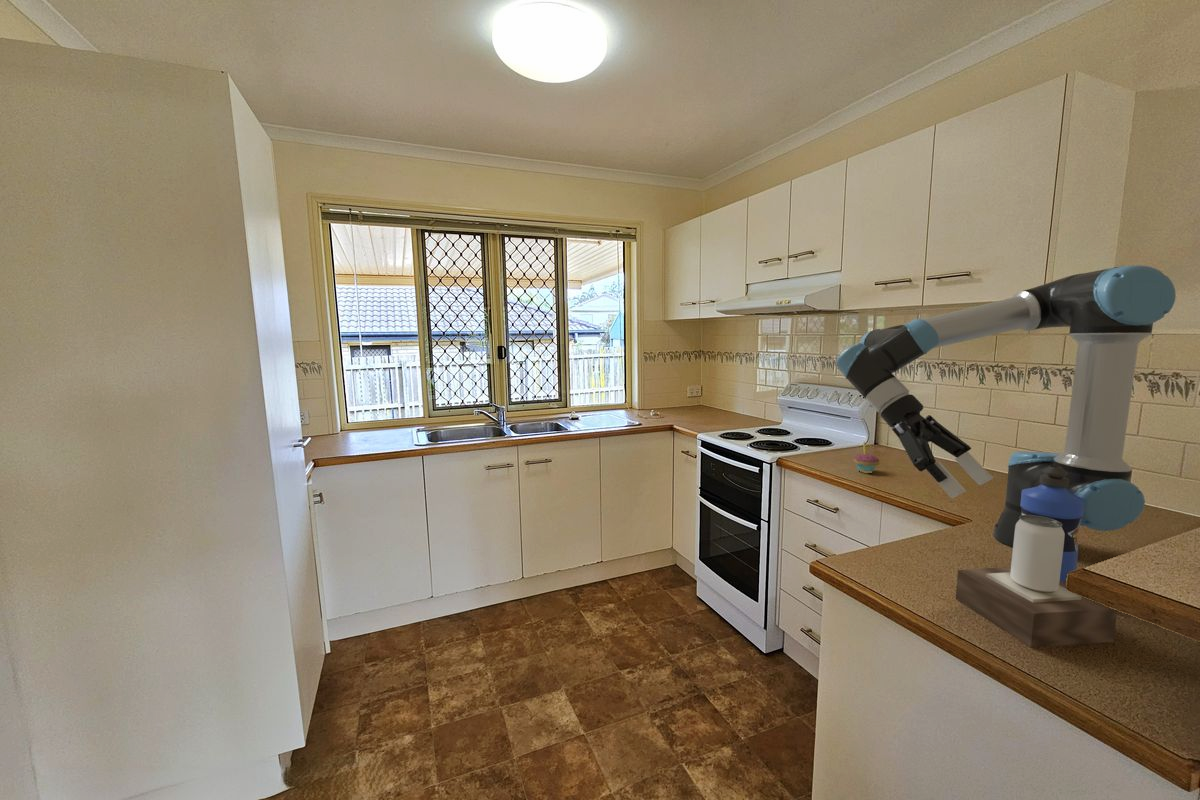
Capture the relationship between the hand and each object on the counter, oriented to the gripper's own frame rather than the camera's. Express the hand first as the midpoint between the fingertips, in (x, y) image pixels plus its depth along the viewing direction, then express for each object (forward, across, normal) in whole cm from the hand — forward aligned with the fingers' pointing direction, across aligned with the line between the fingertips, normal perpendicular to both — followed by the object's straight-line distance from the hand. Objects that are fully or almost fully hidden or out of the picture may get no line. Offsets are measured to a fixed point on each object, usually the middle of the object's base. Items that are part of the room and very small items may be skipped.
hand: (973, 488), depth 91 cm
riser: (+22, 0, -9) cm, 24 cm away
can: (+18, 0, -4) cm, 18 cm away
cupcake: (-24, -74, -56) cm, 96 cm away
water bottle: (+21, -18, -10) cm, 30 cm away
